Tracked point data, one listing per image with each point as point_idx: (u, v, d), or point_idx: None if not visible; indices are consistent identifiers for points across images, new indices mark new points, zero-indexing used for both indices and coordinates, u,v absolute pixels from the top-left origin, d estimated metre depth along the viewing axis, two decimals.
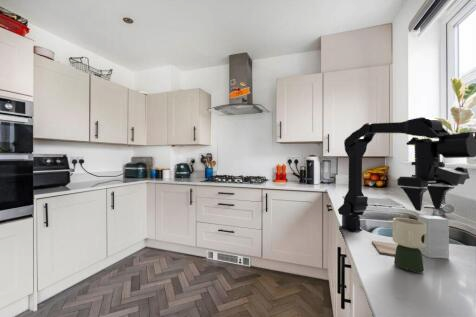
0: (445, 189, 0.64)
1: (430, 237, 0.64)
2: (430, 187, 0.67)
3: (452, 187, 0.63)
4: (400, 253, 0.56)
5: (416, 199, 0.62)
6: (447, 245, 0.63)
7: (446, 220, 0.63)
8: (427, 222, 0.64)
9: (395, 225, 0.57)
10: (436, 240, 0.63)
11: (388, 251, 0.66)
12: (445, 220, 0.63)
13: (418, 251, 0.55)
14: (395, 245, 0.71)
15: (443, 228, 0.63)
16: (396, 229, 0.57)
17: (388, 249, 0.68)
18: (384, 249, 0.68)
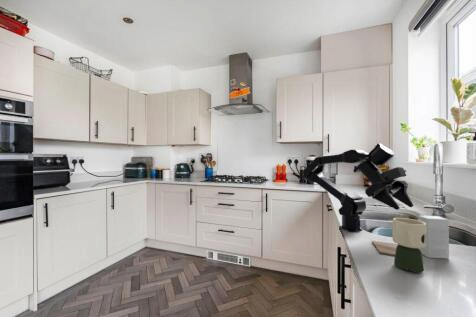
0: (403, 189, 0.77)
1: (430, 237, 0.64)
2: (394, 195, 0.80)
3: (405, 185, 0.77)
4: (400, 253, 0.56)
5: (389, 200, 0.71)
6: (447, 245, 0.63)
7: (446, 220, 0.63)
8: (427, 222, 0.64)
9: (395, 225, 0.57)
10: (436, 240, 0.63)
11: (388, 251, 0.66)
12: (445, 220, 0.63)
13: (418, 251, 0.55)
14: (395, 245, 0.71)
15: (443, 228, 0.63)
16: (396, 229, 0.57)
17: (388, 249, 0.68)
18: (384, 249, 0.68)
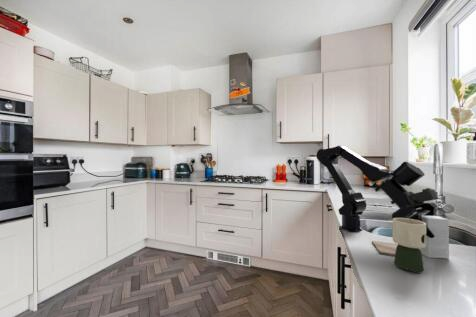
0: (432, 213, 0.69)
1: None
2: None
3: (435, 209, 0.69)
4: (400, 253, 0.56)
5: None
6: (447, 245, 0.63)
7: (446, 220, 0.63)
8: (427, 222, 0.64)
9: (395, 225, 0.57)
10: (436, 240, 0.63)
11: (388, 251, 0.66)
12: (445, 220, 0.63)
13: (418, 251, 0.55)
14: (395, 245, 0.71)
15: (443, 228, 0.63)
16: (396, 229, 0.57)
17: (388, 249, 0.68)
18: (384, 249, 0.68)
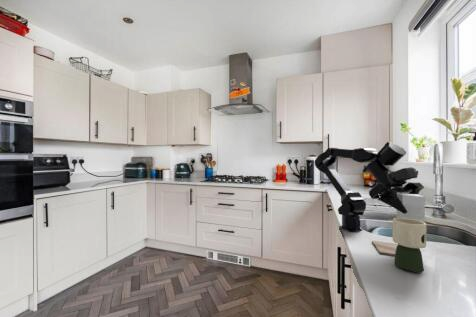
0: (414, 192, 0.70)
1: None
2: None
3: (417, 188, 0.70)
4: (400, 253, 0.56)
5: (396, 203, 0.66)
6: None
7: (422, 197, 0.64)
8: (402, 199, 0.66)
9: (395, 225, 0.57)
10: (411, 216, 0.65)
11: (388, 251, 0.66)
12: (421, 197, 0.64)
13: (418, 251, 0.55)
14: (395, 245, 0.71)
15: (418, 205, 0.65)
16: (396, 229, 0.57)
17: (388, 249, 0.68)
18: (384, 249, 0.68)
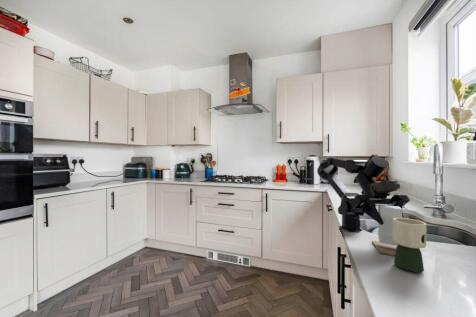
0: (397, 204, 0.71)
1: None
2: None
3: (401, 200, 0.71)
4: (400, 253, 0.56)
5: (374, 214, 0.70)
6: None
7: (399, 209, 0.66)
8: (380, 210, 0.69)
9: (395, 225, 0.57)
10: (388, 228, 0.68)
11: (388, 251, 0.66)
12: (398, 209, 0.66)
13: (418, 251, 0.55)
14: (395, 245, 0.71)
15: (395, 217, 0.67)
16: (396, 229, 0.57)
17: (388, 249, 0.68)
18: (384, 249, 0.68)
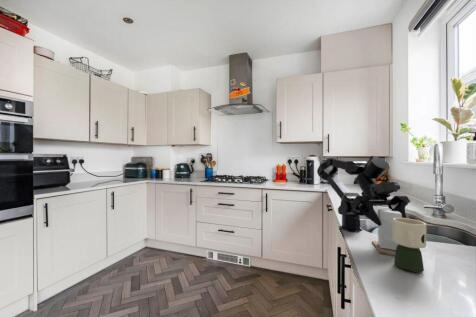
0: (400, 205, 0.71)
1: (382, 229, 0.69)
2: (393, 210, 0.74)
3: (404, 201, 0.71)
4: (400, 253, 0.56)
5: (372, 215, 0.69)
6: None
7: (399, 214, 0.67)
8: (379, 215, 0.69)
9: (395, 225, 0.57)
10: (388, 232, 0.68)
11: (388, 251, 0.66)
12: (398, 214, 0.67)
13: (418, 251, 0.55)
14: None
15: None
16: (396, 229, 0.57)
17: (388, 249, 0.68)
18: (384, 249, 0.68)
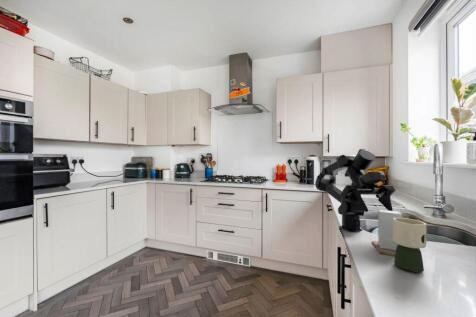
0: (385, 193, 0.77)
1: (382, 230, 0.68)
2: (380, 199, 0.80)
3: (389, 190, 0.77)
4: (400, 253, 0.56)
5: (360, 203, 0.75)
6: None
7: (399, 215, 0.66)
8: (379, 215, 0.69)
9: (395, 225, 0.57)
10: (388, 233, 0.68)
11: (388, 251, 0.66)
12: (398, 214, 0.67)
13: (418, 251, 0.55)
14: None
15: None
16: (396, 229, 0.57)
17: (388, 249, 0.68)
18: (384, 249, 0.68)
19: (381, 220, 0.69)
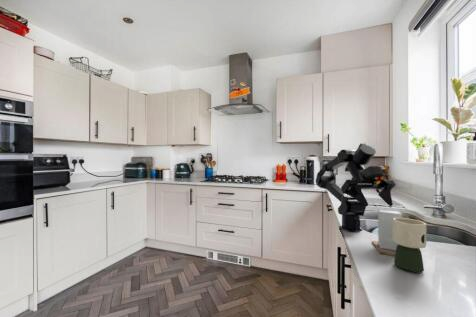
0: (386, 188, 0.77)
1: (382, 230, 0.68)
2: (380, 193, 0.80)
3: (389, 185, 0.77)
4: (400, 253, 0.56)
5: (360, 197, 0.75)
6: None
7: (399, 215, 0.66)
8: (379, 215, 0.69)
9: (395, 225, 0.57)
10: (388, 233, 0.68)
11: (388, 251, 0.66)
12: (398, 214, 0.67)
13: (418, 251, 0.55)
14: None
15: None
16: (396, 229, 0.57)
17: (388, 249, 0.68)
18: (384, 249, 0.68)
19: (381, 220, 0.69)
